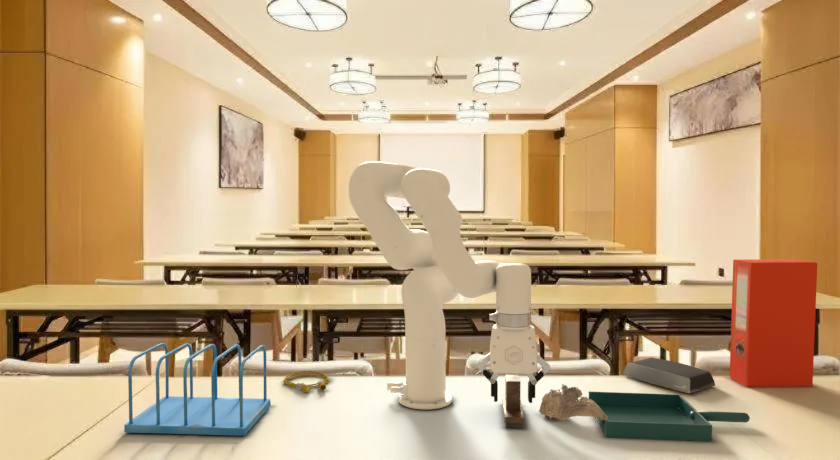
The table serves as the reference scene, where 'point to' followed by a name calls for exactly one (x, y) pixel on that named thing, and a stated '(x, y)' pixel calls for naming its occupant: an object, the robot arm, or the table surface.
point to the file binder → (773, 322)
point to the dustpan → (657, 416)
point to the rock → (569, 404)
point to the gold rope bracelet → (303, 386)
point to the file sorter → (198, 403)
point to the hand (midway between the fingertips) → (512, 399)
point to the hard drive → (670, 374)
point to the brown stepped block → (512, 403)
